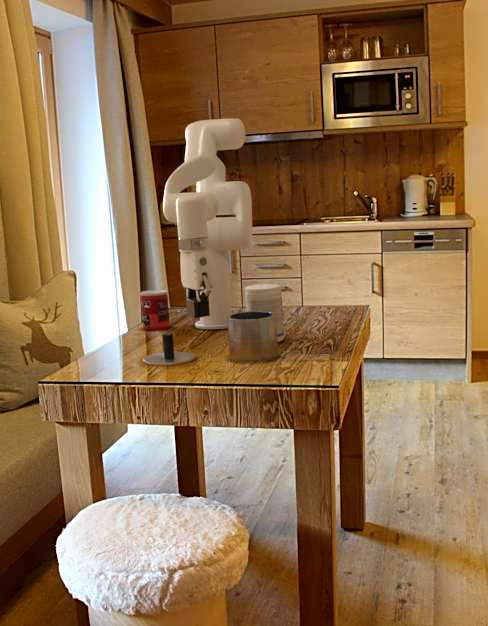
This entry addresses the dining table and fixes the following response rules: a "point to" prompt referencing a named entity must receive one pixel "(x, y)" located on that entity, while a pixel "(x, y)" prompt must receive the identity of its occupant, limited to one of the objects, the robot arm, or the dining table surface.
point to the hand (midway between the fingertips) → (198, 314)
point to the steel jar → (252, 336)
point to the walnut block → (192, 307)
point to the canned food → (155, 309)
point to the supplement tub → (266, 303)
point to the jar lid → (168, 354)
